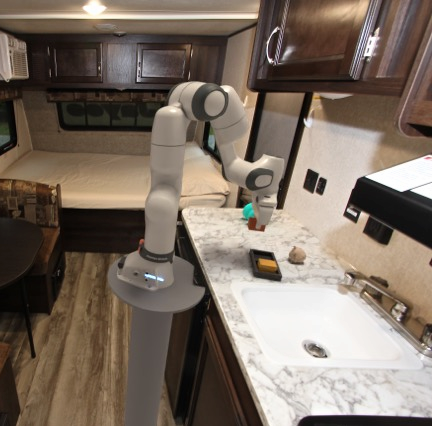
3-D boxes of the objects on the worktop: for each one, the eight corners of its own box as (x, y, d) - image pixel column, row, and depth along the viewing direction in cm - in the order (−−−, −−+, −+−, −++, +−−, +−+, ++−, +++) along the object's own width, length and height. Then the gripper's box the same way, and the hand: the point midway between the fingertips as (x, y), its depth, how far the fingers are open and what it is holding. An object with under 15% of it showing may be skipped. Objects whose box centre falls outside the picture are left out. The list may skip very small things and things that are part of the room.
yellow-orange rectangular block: (258, 272, 116) (260, 264, 115) (256, 266, 120) (258, 258, 119) (274, 275, 115) (277, 267, 113) (272, 269, 119) (275, 261, 117)
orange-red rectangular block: (248, 229, 122) (250, 221, 120) (247, 225, 125) (249, 216, 124) (264, 232, 120) (266, 223, 118) (262, 227, 124) (264, 218, 122)
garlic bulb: (285, 255, 129) (290, 240, 126) (302, 258, 128) (307, 242, 124) (288, 263, 124) (293, 247, 120) (305, 266, 122) (311, 250, 119)
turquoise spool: (258, 218, 164) (262, 202, 160) (265, 226, 155) (270, 209, 151) (240, 218, 164) (243, 201, 160) (246, 226, 155) (251, 209, 151)
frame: (254, 276, 115) (255, 271, 114) (248, 253, 131) (250, 248, 129) (280, 281, 112) (282, 276, 111) (272, 257, 128) (273, 252, 127)
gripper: (252, 185, 126) (245, 214, 132) (259, 202, 108) (251, 235, 114) (268, 186, 124) (260, 216, 130) (278, 204, 107) (269, 237, 112)
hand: (256, 225), depth 122 cm, fingers closed on orange-red rectangular block, 4 cm apart
